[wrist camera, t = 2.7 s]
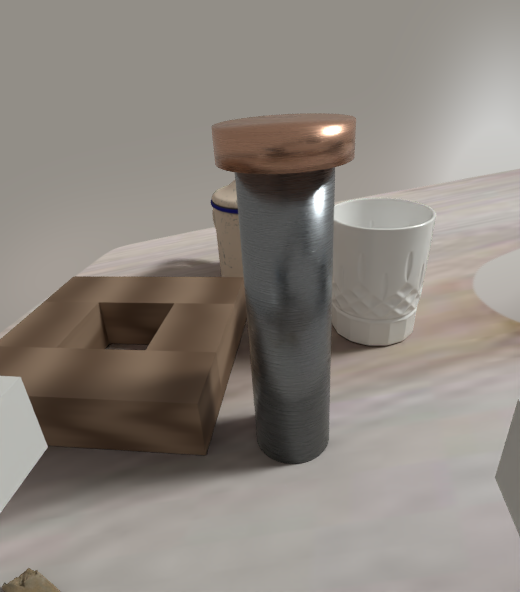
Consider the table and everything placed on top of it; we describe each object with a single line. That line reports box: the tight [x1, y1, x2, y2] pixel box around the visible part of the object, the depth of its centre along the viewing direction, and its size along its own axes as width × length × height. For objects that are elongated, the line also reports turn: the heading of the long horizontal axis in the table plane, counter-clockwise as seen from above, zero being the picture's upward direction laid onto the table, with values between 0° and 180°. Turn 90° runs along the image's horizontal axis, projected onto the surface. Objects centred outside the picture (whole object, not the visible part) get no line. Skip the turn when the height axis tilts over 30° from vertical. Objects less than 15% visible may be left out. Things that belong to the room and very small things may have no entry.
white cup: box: [332, 198, 436, 346], centre depth 35 cm, size 8×8×10 cm
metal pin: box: [212, 114, 356, 464], centre depth 22 cm, size 6×6×18 cm
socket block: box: [0, 277, 247, 455], centre depth 33 cm, size 16×16×4 cm
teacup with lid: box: [211, 180, 244, 277], centre depth 46 cm, size 12×9×12 cm
